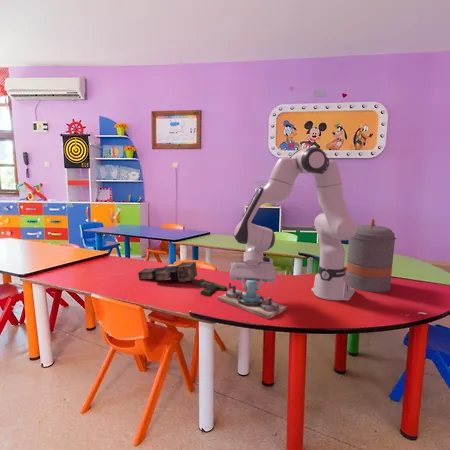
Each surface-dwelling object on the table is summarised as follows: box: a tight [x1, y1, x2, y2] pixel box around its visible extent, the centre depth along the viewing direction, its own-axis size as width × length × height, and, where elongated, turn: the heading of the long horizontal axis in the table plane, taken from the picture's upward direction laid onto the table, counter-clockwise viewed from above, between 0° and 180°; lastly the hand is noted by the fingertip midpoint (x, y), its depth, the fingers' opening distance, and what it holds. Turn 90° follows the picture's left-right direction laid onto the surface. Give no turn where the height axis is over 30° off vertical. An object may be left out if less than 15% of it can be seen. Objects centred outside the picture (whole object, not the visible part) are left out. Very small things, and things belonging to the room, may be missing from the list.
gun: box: [191, 278, 228, 297], centre depth 162 cm, size 2×19×15 cm
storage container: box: [345, 218, 397, 293], centre depth 168 cm, size 22×22×35 cm
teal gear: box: [242, 279, 262, 303], centre depth 141 cm, size 8×8×8 cm
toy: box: [137, 261, 198, 283], centre depth 174 cm, size 16×9×30 cm
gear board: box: [217, 282, 287, 320], centre depth 141 cm, size 13×28×8 cm, turn 46°
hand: (251, 289), depth 140 cm, fingers closed on teal gear, 4 cm apart
